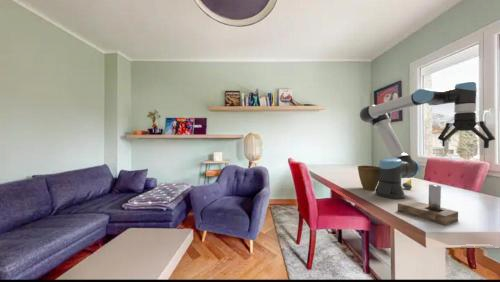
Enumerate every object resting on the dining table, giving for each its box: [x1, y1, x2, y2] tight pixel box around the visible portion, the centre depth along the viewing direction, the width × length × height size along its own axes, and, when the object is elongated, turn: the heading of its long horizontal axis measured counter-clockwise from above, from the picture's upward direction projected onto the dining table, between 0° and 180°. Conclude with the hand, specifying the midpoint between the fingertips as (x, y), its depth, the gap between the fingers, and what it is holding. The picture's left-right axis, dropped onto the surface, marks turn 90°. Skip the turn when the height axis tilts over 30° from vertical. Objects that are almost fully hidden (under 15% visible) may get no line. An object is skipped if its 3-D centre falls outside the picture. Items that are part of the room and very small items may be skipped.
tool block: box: [397, 199, 459, 226], centre depth 93 cm, size 18×12×4 cm, turn 25°
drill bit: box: [402, 178, 413, 191], centre depth 143 cm, size 5×5×10 cm
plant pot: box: [357, 164, 379, 191], centre depth 141 cm, size 15×15×16 cm
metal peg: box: [428, 183, 442, 212], centre depth 91 cm, size 4×4×14 cm
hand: (463, 153), depth 103 cm, fingers open, 13 cm apart
